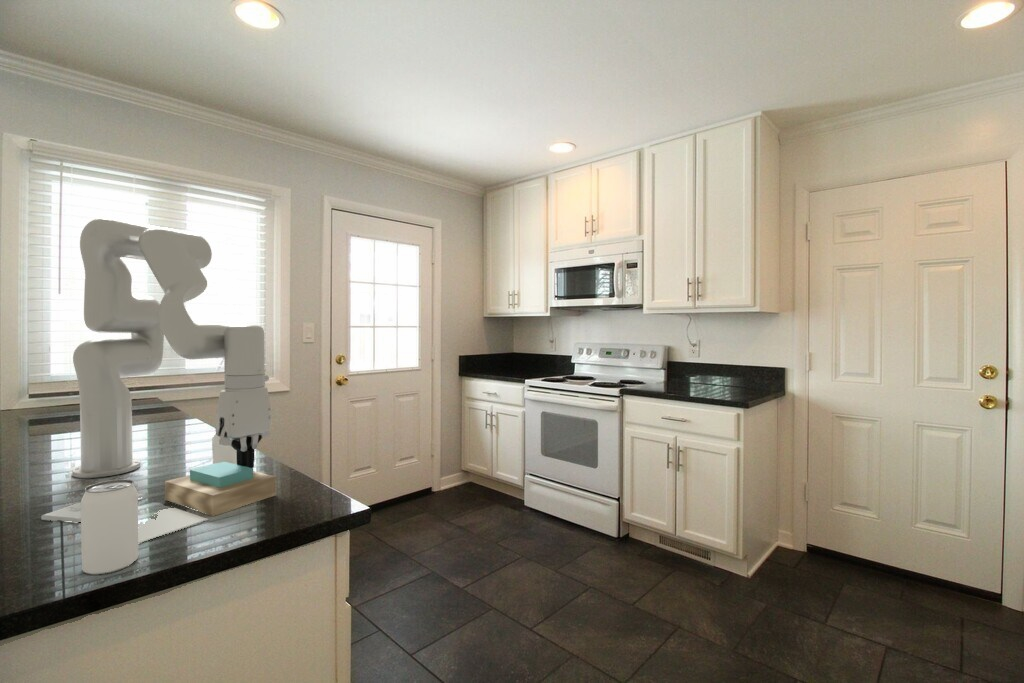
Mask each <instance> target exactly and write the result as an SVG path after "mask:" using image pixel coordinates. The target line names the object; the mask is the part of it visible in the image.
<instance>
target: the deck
mask: <svg viewBox="0 0 1024 683" xmlns="http://www.w3.org/2000/svg"><path fill="white" fill-rule="evenodd" d="M164 481H165V482H164V488H165V489H164V491H165V492H164V494H165V496H164V498H165V499H166V500H169V501H172V502H176V503H179V504H181V505H184V506H187V507H189V508H192V509H195V510H198V511H200V512H203V513H202V514H204V513H206V514H205V515H207V514H208V515H207V516H210V515H211V516H210V517H215V515H216V516H218V514H219V515H222V514H225V513H228V512H230V511H234V510H236V509H239V508H242V506H243V507H246V506H248V504H249V505H251V503H252V504H254V503H257V502H260V501H262V500H266V499H268V498H272V497H275V496H276V476H275V475H271V474H268V473H264V472H258V471H255V470H253V478H252V479H248V480H245V481H241V482H238V483H234V484H231V485H227V486H224V487H220V488H218V487H215V486H211V485H208V484H204V483H200V482H197V481H193V480H190V474H188V475H185V476H181V477H177V478H173V479H168V480H164ZM245 505H246V506H245ZM200 512H199V513H200ZM221 513H222V514H221Z"/></svg>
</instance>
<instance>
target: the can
mask: <svg viewBox="0 0 1024 683" xmlns="http://www.w3.org/2000/svg"><path fill="white" fill-rule="evenodd" d="M134 482H135V481H134V480H132V479H127V478H126V479H125V478H122V479H119V478H118V479H109V480H105V481H101V482H100V481H99V482H96V483H93V484H90V485H88V486H86V487H85V488H84V494H83V496H82V498H81V500H80V502H81V523H80V537H81V538H80V541H81V542H80V543H81V570H82V571H83V573H85V574H87V575H91V576H100V575H99V574H102V575H107V573H108V574H111V572H112V573H115V571H116V572H119V571H122V570H123V569H126V568H128V567H129V566H128V565H130V564H132V563H133V562H134V561H135V562H136V561H137V559H138V558H139V544H138V498H137V494H138V490H137V488H136V487H135V486H134ZM135 562H134V563H135ZM134 563H133V564H134ZM133 564H132V565H133ZM127 566H128V567H127ZM130 566H131V565H130ZM125 567H126V568H125ZM121 569H122V570H121ZM118 570H119V571H118ZM105 573H106V574H105Z"/></svg>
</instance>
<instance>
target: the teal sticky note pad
mask: <svg viewBox="0 0 1024 683" xmlns="http://www.w3.org/2000/svg"><path fill="white" fill-rule="evenodd" d="M253 471H254V468H249V467H245V466H241V465H237V464H232V463H228V462H220V463H216V464H213V463H212V464H209V465H205V466H200V467H196V468H192V469H189V475H190V480H193V481H197V482H200V483H204V484H208V485H211V486H215V487H218V488H220V487H224V486H227V485H231V484H234V483H238V482H241V481H245V480H248V479H252V478H253Z"/></svg>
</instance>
